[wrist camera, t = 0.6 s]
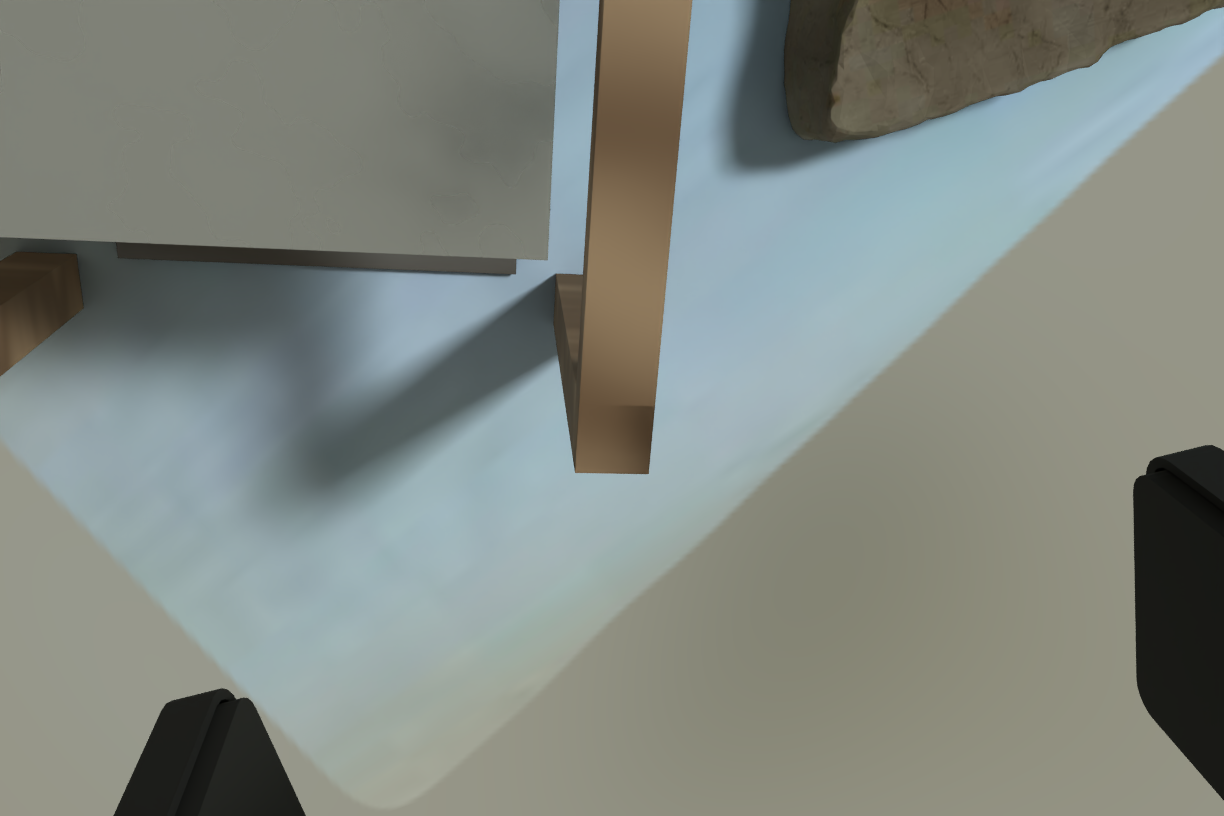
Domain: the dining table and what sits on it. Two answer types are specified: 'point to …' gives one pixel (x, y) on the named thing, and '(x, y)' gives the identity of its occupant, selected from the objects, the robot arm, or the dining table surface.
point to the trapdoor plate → (281, 123)
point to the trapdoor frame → (584, 304)
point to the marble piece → (944, 54)
